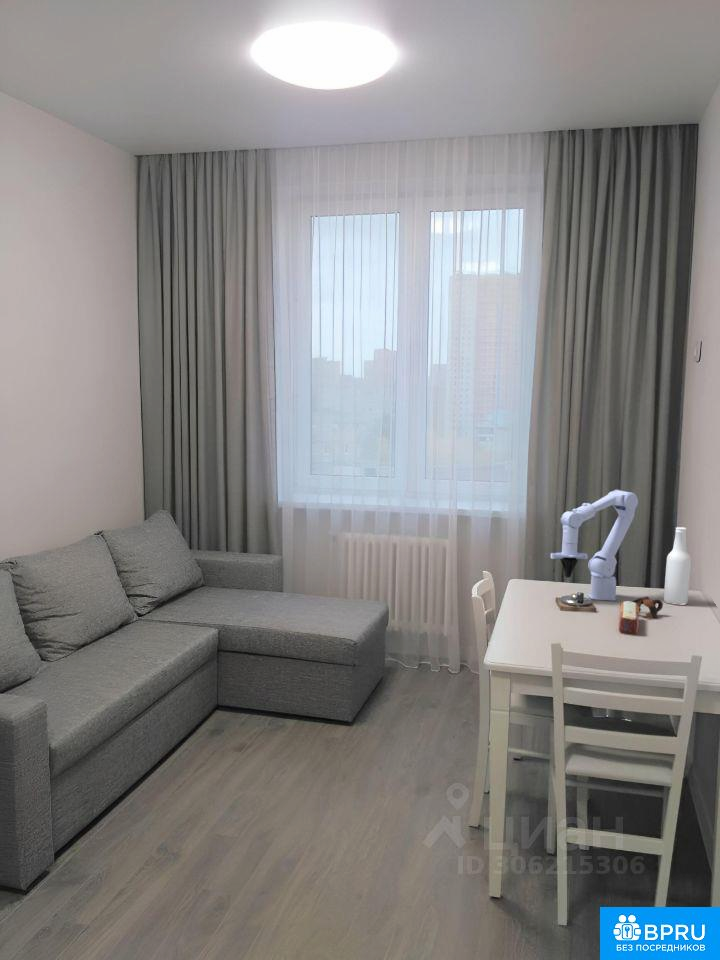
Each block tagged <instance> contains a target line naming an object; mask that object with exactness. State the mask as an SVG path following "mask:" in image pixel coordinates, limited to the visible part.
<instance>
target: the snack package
mask: <svg viewBox="0 0 720 960" xmlns="http://www.w3.org/2000/svg"><path fill="white" fill-rule="evenodd" d="M618 611H619V612H618V613H619V614H618V631H619V633H621V634H622V633H623V635H630V634H634V635H635V634H637V632H638V631H639V618H640V617H639V613H640V611H639V606H638V604H636V603H635V602H631V601H630V600H625V601H622V602H621V604H620V606H619V610H618Z"/></svg>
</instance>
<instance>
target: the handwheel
mask: <svg viewBox="0 0 720 960" xmlns="http://www.w3.org/2000/svg"><path fill="white" fill-rule="evenodd" d="M560 598H561V602H562V603H564V604H567V605H572V606H588V605H590V604H591V602H592V599H591V598H588V597H585V593H584V592H577V593H572V594H571V595H562V596H561V597H560Z"/></svg>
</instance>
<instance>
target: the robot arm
mask: <svg viewBox="0 0 720 960" xmlns="http://www.w3.org/2000/svg"><path fill="white" fill-rule="evenodd" d="M638 504H639V499H638V496H637V495H636V493H634V492H631V491H625V490H621V489H614V490H613V491H610V492H608V493H607V494H606V495H605V496H603V497H601V498H599V499H598V500H596V501H594V502H593V503H589V502H584V503H582V504H581V506H579V507H577V508H573V509H572V510H570V511H569V510H567V511H565V512H564V513H563V514H562V515H561V517H560V524H561V525H562V540H561V541H562V544H561V552H550V559H552V560H555V559H556V560H557V559H559V560H560V562H561V564H562V566H563V567H562V568H563V571H564V576H565V577H566V578H571V577H572V573H573V570H574V568H575V566H576V565H577V563H578V559H579V560H580V559H581V560H582V559H584V560H588V553H586V552H578V543H579V540H578V539H579V528H580V527H581V526H582V524H583V522H586V521H587V520H589V519H591V518H592V519H593V518H594V517H595V516H596V513H597V512H600V511H601V510H604V509H607V508H608V507H611V506H613V508H614V509H615V511H616V512H617V514H618V515H617V518H616V520H615V522H614V524H613V526H612V528H611V529H610V532H609V534H608V536H607V538H606V539H605V542H604V544H603V546H602V548H601V550H598V551H597V552H595V554H594V555H593V556H592V557H591V558H590V560H589V561H588V564H587V567H588V570H589V572H590V575H591V577H590V591H589V593H587V596H588V597H589V599H590V600H596V601H597V600H598V601H601V600H602V601H616V593H617V578H616V576H613V575H614V574H615V572H616V566H617V563H618V562H617V559H616V557H615V556H616V554H617V552H618V551H619V548H620V546H621V544H622V542H623V540H624V538H625V536H626V534H627V532H628V530H629V528H630V526H631V524H632V522H633V521H634V518H635V512H636V508H637V506H638Z"/></svg>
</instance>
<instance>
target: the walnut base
mask: <svg viewBox="0 0 720 960" xmlns="http://www.w3.org/2000/svg"><path fill="white" fill-rule="evenodd" d="M555 603H556V605H557V607H558V608H559V610H560V611H565V612H566V611H568V612H580V613H581V612H583V613H584V612H585V613H597V608H596V606H595V604H594V603H593V601H591V604H590V605H588V606H572V605H567V604H564V603H562V602H561V597H555Z"/></svg>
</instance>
